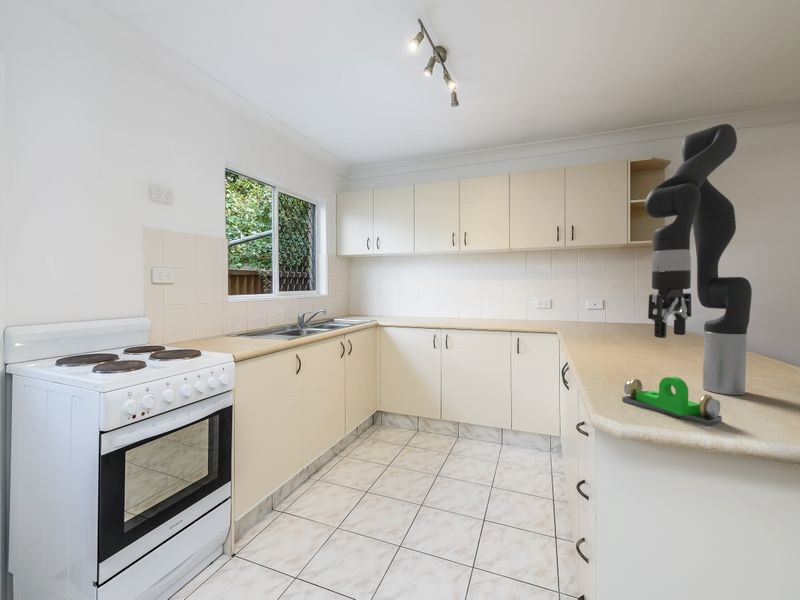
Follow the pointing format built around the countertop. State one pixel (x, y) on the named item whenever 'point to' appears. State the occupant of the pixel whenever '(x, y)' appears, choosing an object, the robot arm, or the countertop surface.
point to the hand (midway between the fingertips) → (670, 336)
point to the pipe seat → (707, 415)
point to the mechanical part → (670, 397)
